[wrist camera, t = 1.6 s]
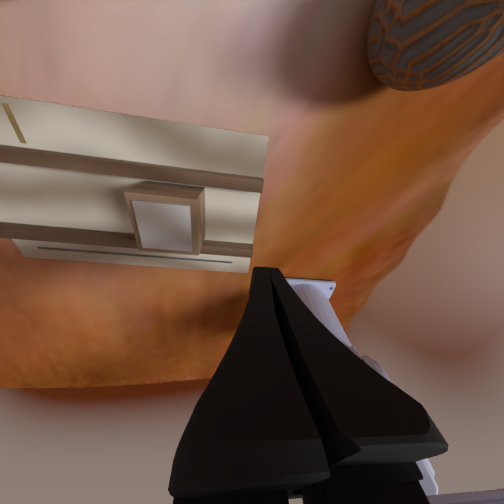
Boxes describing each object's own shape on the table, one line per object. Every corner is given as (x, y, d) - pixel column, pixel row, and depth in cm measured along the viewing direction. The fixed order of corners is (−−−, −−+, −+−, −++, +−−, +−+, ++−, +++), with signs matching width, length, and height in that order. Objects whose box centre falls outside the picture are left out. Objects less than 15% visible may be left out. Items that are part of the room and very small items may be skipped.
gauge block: (205, 236, 19) (198, 257, 16) (155, 232, 18) (137, 252, 15) (204, 187, 16) (195, 200, 13) (145, 180, 16) (122, 192, 13)
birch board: (247, 267, 23) (248, 279, 21) (32, 252, 20) (12, 264, 18) (267, 136, 15) (270, 136, 13) (-74, 84, 13) (-127, 76, 11)
